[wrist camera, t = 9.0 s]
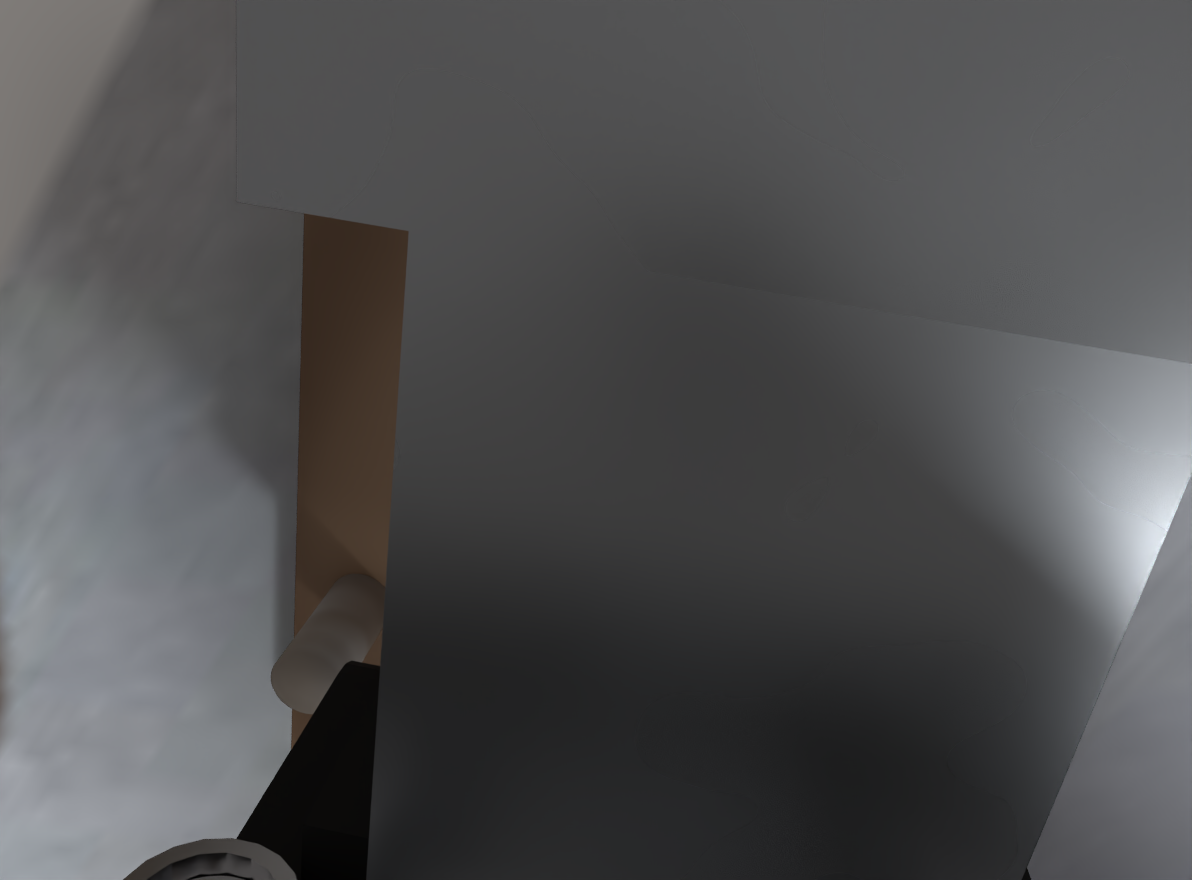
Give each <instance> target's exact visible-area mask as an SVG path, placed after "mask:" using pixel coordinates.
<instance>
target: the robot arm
mask: <svg viewBox="0 0 1192 880" xmlns="http://www.w3.org/2000/svg"><path fill="white" fill-rule="evenodd" d="M379 677H380V666H377V665H372V664H367V663H362V662H357V661H352V660H351V661H349V662H347V663H346V664H345V665H344V666H343V668H342V669H341V670H340V671H339V673H338V674H337V676H336V678H335V679H334V681H333V683H332V684H331V686H330V687H329V689H328V691H327V692H326V694H325V696H324V697H323V699H322V700H321V702H320V704H319V705H318V707H317V709H316V710H315V712H314V713H313V715H312V717H311V718H310V720H309V722H308V723H307V725H306V726H305V728H304V730H303V731H302V733H301V735H300V736H299V738H298V740H297V741H296V743H295V744H294V746H293V748H292V749H291V751H290V753H289V754H288V756H287V757H286V759H285V761H284V762H283V764H282V766H281V767H280V769H279V770H278V772H277V774H276V775H275V777H274V779H273V780H272V782H271V783H270V785H269V787H268V788H267V790H266V792H265V793H264V795H263V796H262V798H261V800H260V801H259V803H258V805H257V806H256V808H255V809H254V811H253V813H252V814H251V816H250V818H249V819H248V821H247V822H246V824H245V826H244V827H243V829H242V831H241V832H240V834H239V835H238V837H237V839H234V838H225V839H202V840H199V841H195V842H191V843H187V844H183V845H179V846H175V847H173V848H171V849H169V850H167V851H165V852H163V853H161V854H159V855H157V856H155V857H153V858H150V859H148V860H146V861H145V862H144V863H143V864H141V865H140V866H139V867H138V868H137V869H135V870H134V871H133V872H132V873H130V874H129V875H128V876H127V877H126V878H124V879H123V880H366V875H367V860H368V845H369V829H370V814H371V799H372V784H373V768H374V753H375V738H376V723H377V707H378V692H379ZM1022 880H1031V878H1030V875H1029V872H1028V869H1027V868H1026V871H1025V873H1024V875H1023V878H1022Z"/></svg>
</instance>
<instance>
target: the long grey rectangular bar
mask: <svg viewBox="0 0 1192 880" xmlns="http://www.w3.org/2000/svg"><path fill="white" fill-rule="evenodd" d="M236 108H237V202H240V203H246V204H252V205H258V206H264V207H270V208H276V209H281V210H287V211H293V212H299V213H305V214H311V215H317V216H323V217H329V218H334V219H340V220H346V221H352V222H358V223H364V224H370V225H376V226H382V227H388V228H393V229H399V230H405V231H409V235H408V250H407V266H406V281H405V296H404V311H403V326H402V342H401V357H400V372H399V387H398V403H397V418H396V433H395V448H394V464H393V479H392V494H391V509H390V525H389V540H388V555H387V570H386V586H385V601H384V616H383V631H382V647H381V662H380V677H379V692H378V707H377V723H376V738H375V753H374V768H373V784H372V799H371V814H370V829H369V845H368V860H367V875H366V880H1022V878H1023V875H1024V873H1025V871H1026V868H1027V866H1028V863H1029V861H1030V859H1031V856H1032V854H1033V851H1034V849H1035V847H1036V844H1037V842H1038V840H1039V837H1040V835H1041V832H1042V830H1043V828H1044V825H1045V823H1046V820H1047V818H1048V816H1049V813H1050V811H1051V808H1052V806H1053V804H1054V801H1055V799H1056V797H1057V794H1058V792H1059V789H1060V787H1061V785H1062V782H1063V780H1064V777H1065V775H1066V773H1067V770H1068V768H1069V765H1070V763H1071V761H1072V758H1073V756H1074V754H1075V751H1076V749H1077V746H1078V744H1079V742H1080V739H1081V737H1082V734H1083V732H1084V730H1085V727H1086V725H1087V723H1088V720H1089V718H1090V715H1091V713H1092V711H1093V708H1094V706H1095V703H1096V701H1097V699H1098V696H1099V694H1100V691H1101V689H1102V687H1103V684H1104V682H1105V680H1106V677H1107V675H1108V672H1109V670H1110V668H1111V665H1112V663H1113V660H1114V658H1115V656H1116V653H1117V651H1118V648H1119V646H1120V644H1121V641H1122V639H1123V637H1124V634H1125V632H1126V629H1127V627H1128V625H1129V622H1130V620H1131V617H1132V615H1133V613H1134V610H1135V608H1136V606H1137V603H1138V601H1139V598H1140V596H1141V594H1142V591H1143V589H1144V586H1145V584H1146V582H1147V579H1148V577H1149V574H1150V572H1151V570H1152V567H1153V565H1154V563H1155V560H1156V558H1157V555H1158V553H1159V551H1160V548H1161V546H1162V543H1163V541H1164V539H1165V536H1166V534H1167V531H1168V529H1169V527H1170V524H1171V522H1172V520H1173V517H1174V515H1175V512H1176V510H1177V508H1178V505H1179V503H1180V500H1181V498H1182V496H1183V493H1184V491H1185V489H1186V486H1187V484H1188V481H1189V479H1190V477H1191V474H1192V0H236Z"/></svg>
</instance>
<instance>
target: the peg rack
mask: <svg viewBox="0 0 1192 880" xmlns="http://www.w3.org/2000/svg"><path fill="white" fill-rule="evenodd" d="M408 235H409V231H405V230H399V229H393V228H388V227H382V226H376V225H370V224H364V223H358V222H352V221H346V220H340V219H334V218H329V217H323V216H317V215H311V214H305V213H304V243H303V285H302V326H301V368H300V409H299V450H298V492H297V533H296V575H295V616H294V639H293V640H292V642H291V643H290V644H289V646H288V647H287V648H286V650H285V651H284V652H283V654H282V655H281V656H280V658H279V659H278V661H277V662H276V663H275V665H274V666H273V669H272V672H271V683H272V686H273V689H274V691H275V693H276V694H277V696H278V697H279V698H280V700H281V701H282V702H283V703H285V704H286V705H287V706H289V707H290V708H292V740H291V749H292V748H293V746H294V744H295V743H296V741H297V740H298V738H299V736H300V735H301V733H302V731H303V730H304V728H305V726H306V725H307V723H308V722H309V720H310V718H311V717H312V715H313V713H314V712H315V710H316V709H317V707H318V705H319V704H320V702H321V700H322V699H323V697H324V696H325V694H326V692H327V691H328V689H329V687H330V686H331V684H332V683H333V681H334V679H335V678H336V676H337V674H338V673H339V671H340V670H341V669H342V668H343V666H344V665H345V664H346V663H347V662H349V661H351V660H352V661H357V662H362V663H367V664H372V665H377V666H380V662H381V647H382V631H383V616H384V601H385V586H386V570H387V555H388V540H389V525H390V509H391V494H392V479H393V464H394V448H395V433H396V418H397V403H398V387H399V372H400V357H401V342H402V326H403V311H404V296H405V281H406V266H407V250H408Z"/></svg>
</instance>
